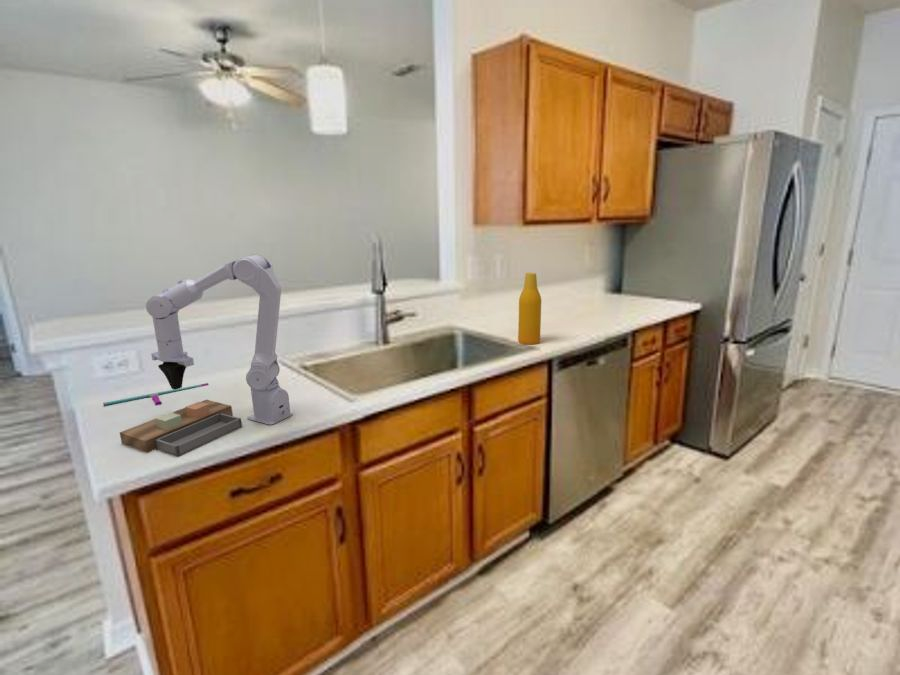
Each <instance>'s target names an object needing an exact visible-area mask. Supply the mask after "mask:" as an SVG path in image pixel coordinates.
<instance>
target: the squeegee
mask: <svg viewBox="0 0 900 675" xmlns="http://www.w3.org/2000/svg"><path fill="white" fill-rule="evenodd" d="M209 385H210V384H209V383H208V382H207V383H202V384H201V383H200V384H195V385H192V386H185V387H182V388H179V389H176V390H174V389H170V390H165V391H158V392H154V393H149V394H143V395H138V396H131V397H126V398H123V399H121V398H120V399H116V400H111V401H105V402H102V404H103V407H108V406H109V407H110V406H115V405H118V404H123V403H129V402H132V401H136V400H140V399H141V398H142V399H145V398H149V399H150V398H151V400H152V401H153V403H154V405H155V406H159V405H162V404H163V403H162V401H161V399H160V398H159V397H160V396H161V395H164V394H169V393H174V392H179V391H183V390H190V389H195V388H201V387H205V386H209Z"/></svg>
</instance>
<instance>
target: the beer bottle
mask: <svg viewBox="0 0 900 675" xmlns="http://www.w3.org/2000/svg"><path fill="white" fill-rule="evenodd" d="M537 279H538V278H537V273H536V272H526V273H525V276H524V284H523V289H522V291H521V293H520V295H519V298H518V332H517V333H518V335H517V340H518V343H520V344H521V345H529V346H530V345H531V346H532V345H533V346H534V345H537V344H540V343H541V324H542V323H541V322H542V321H541V319H542V296H541V294H540V292H539V289H538V280H537Z"/></svg>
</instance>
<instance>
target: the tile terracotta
mask: <svg viewBox="0 0 900 675" xmlns="http://www.w3.org/2000/svg"><path fill="white" fill-rule="evenodd" d="M184 408H185V409H186V415H187V416H189V417H193V418H199V417H201V416H204V415H206V414H209V413H210V410H209V404H206V403H202V402H201V401H197V402H194V403H192V404H189V405H186V406H185V407H184Z"/></svg>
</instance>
